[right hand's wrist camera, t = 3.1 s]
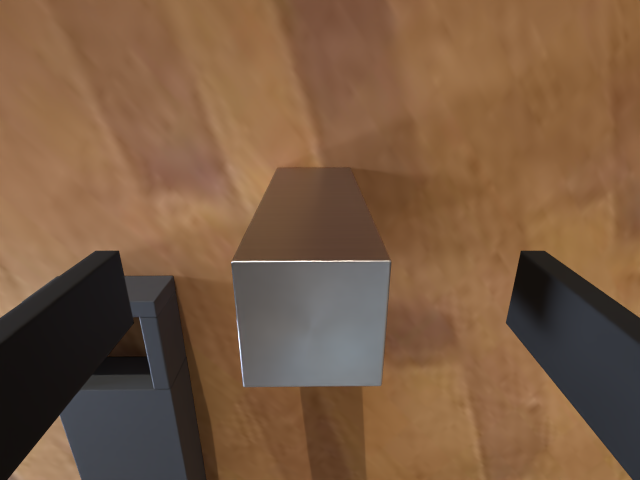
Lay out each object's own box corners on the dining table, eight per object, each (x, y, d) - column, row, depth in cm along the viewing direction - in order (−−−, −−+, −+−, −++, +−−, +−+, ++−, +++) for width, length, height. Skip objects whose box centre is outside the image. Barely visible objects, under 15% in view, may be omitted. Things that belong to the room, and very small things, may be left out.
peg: (279, 236, 22) (242, 388, 11) (276, 167, 20) (230, 261, 9) (348, 236, 22) (382, 386, 11) (350, 167, 21) (391, 260, 9)
